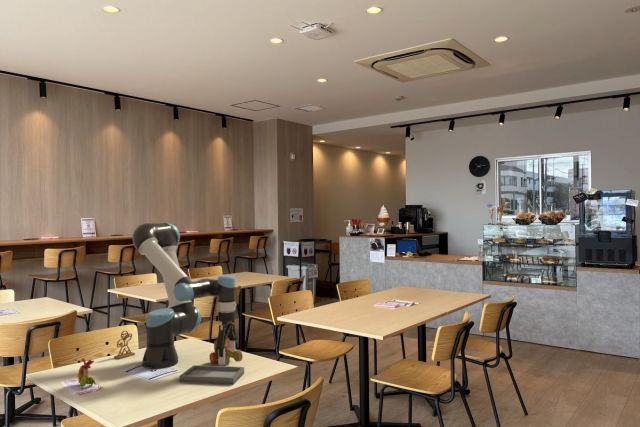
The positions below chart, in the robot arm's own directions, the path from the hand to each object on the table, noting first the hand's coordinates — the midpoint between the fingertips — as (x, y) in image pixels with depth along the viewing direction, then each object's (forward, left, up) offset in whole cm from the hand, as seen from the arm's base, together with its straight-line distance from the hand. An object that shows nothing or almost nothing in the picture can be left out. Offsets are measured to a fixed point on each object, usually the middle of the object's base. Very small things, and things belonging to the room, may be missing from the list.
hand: (227, 359), depth 214 cm
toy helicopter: (0, 0, -2) cm, 2 cm away
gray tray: (0, -18, -2) cm, 18 cm away
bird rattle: (-46, -33, -2) cm, 57 cm away
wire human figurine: (-52, +6, -2) cm, 52 cm away
